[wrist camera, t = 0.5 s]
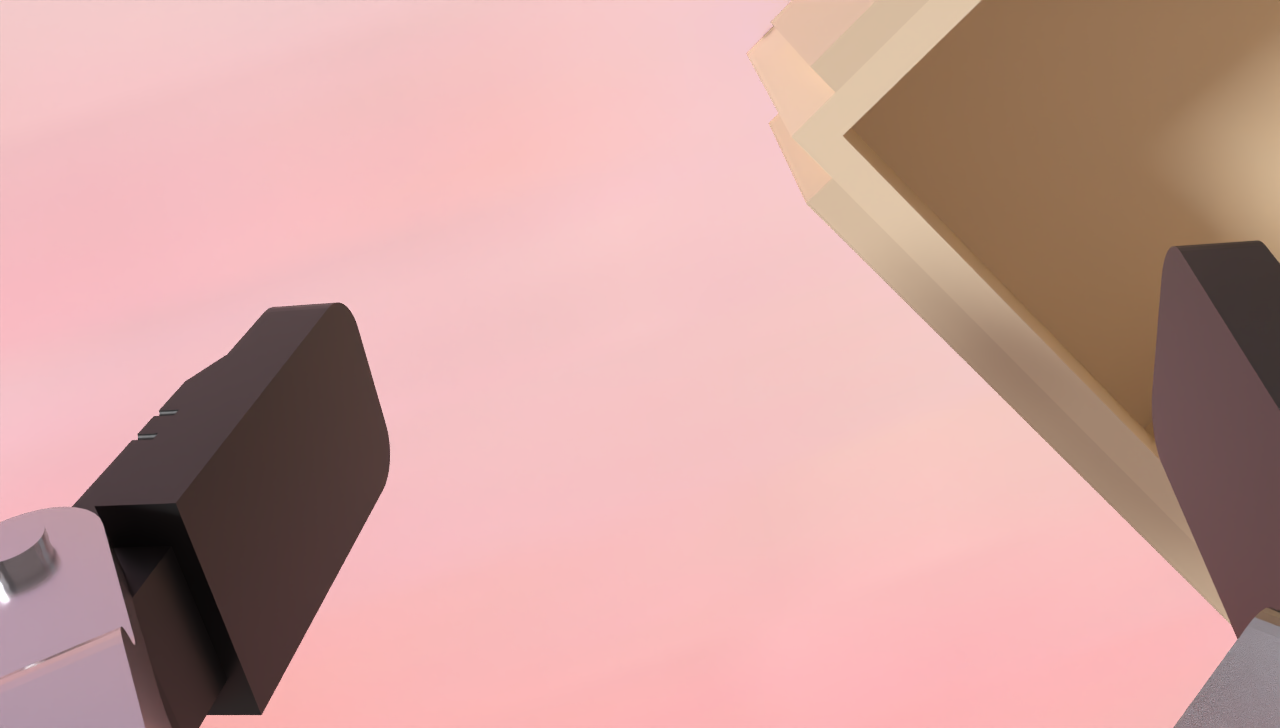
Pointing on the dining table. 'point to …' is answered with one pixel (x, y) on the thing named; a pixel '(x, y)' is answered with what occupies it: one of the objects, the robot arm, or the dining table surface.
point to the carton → (1040, 190)
